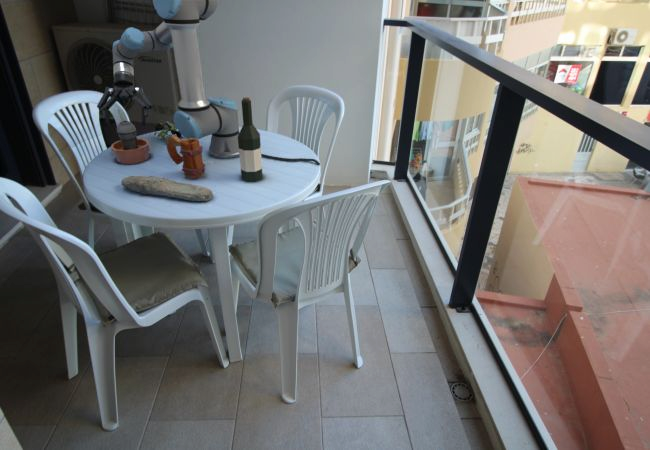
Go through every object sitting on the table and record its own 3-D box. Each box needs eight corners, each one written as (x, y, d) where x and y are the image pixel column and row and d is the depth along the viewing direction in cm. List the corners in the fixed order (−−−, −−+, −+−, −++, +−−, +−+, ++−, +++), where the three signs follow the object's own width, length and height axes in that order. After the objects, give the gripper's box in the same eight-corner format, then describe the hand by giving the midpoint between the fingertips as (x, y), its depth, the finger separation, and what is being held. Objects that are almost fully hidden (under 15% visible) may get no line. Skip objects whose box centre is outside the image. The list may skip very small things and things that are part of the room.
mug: (211, 173, 153) (206, 136, 145) (199, 182, 146) (193, 143, 138) (180, 167, 157) (173, 131, 148) (166, 175, 150) (158, 138, 142)
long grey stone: (204, 210, 131) (219, 198, 140) (203, 196, 129) (218, 184, 137) (114, 190, 138) (133, 179, 146) (111, 176, 135) (131, 166, 143)
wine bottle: (245, 183, 146) (237, 102, 130) (238, 175, 152) (230, 96, 136) (266, 179, 149) (261, 100, 133) (258, 171, 156) (253, 94, 140)
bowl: (158, 157, 165) (155, 143, 162) (126, 167, 155) (122, 153, 152) (139, 149, 172) (136, 136, 169) (108, 158, 162) (104, 144, 159)
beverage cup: (136, 162, 160) (123, 113, 149) (120, 160, 161) (106, 111, 150) (146, 155, 166) (135, 108, 155) (130, 153, 167) (118, 106, 156)
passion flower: (180, 149, 187) (192, 130, 182) (166, 153, 177) (178, 133, 172) (162, 133, 186) (173, 114, 181) (147, 137, 176) (159, 116, 171)
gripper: (158, 82, 168) (160, 127, 164) (94, 83, 163) (95, 130, 159) (153, 71, 161) (156, 118, 157) (87, 72, 156) (88, 121, 151)
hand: (126, 124), depth 158 cm, fingers open, 13 cm apart
